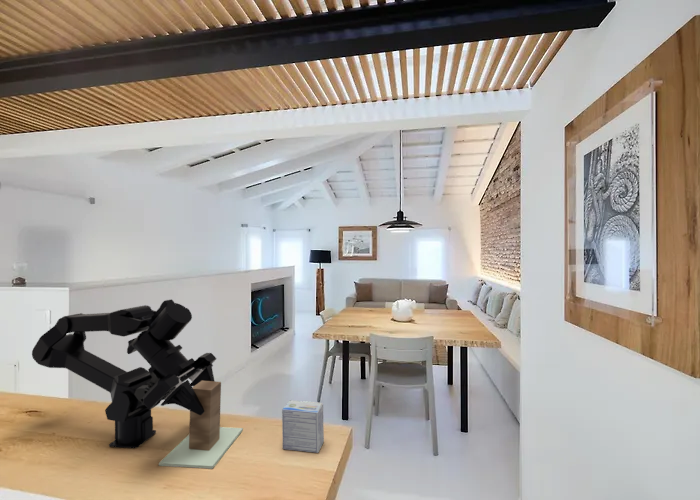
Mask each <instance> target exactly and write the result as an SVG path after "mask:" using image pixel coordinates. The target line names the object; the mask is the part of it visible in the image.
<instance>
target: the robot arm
mask: <svg viewBox="0 0 700 500" xmlns="http://www.w3.org/2000/svg"><path fill="white" fill-rule="evenodd" d="M192 319H193V315H192V313H191V311H190V309H189V308H188V307H186V306H184V305H182V304H181V303H177V302H175V301H174V300H173V299H166V300H163V301H162V302H161V304H160V306H159V307H158V309H157V310H153V309H152V307H151V306H149V305H146V304H145V305H138V306H134V307H128V308H124V309H118V310H115V311H112V312H102V313H101V312H99V313H82V312H81V313H76V314H71V315H69V314H68V315H63V316H62V317H60V318H59V319H58V320H57V322H55V325H54V326H52V327H51V328H50V329H49V330H47V331H45V333H44V334H42V335H41V336H40V337H39V339H37V340H38V341H37V342H36V343H35V345H34V347H33V348H32V351H31V355H32V359H33V361H35V362H36V363H37V364H38V365H40V366H41V367H42V366H43V367H45V368H49V369H67V370H68V371H70V372H72V373H73V374H75V375H77V376H79V377H81V378H83V379H84V380H86V381H89V382H90V383H92V384H94V385H95V386H97V387H99V388H101V389H103V390H105V391H106V392H109V394H110V399H111V402H110V403H109V405H107V407H106V409H105V410H104V412H105V416H106V419H107V420H108V421H113V422H114V440H113V441H112V442H111V443H109V444H108V447H109V448H120V449H121V448H124V449H137V448H139V447H140V446H142V445H143V444H144V443H146V441H148V440H149V439H150V438H152V437H153V436H155V434H156V433H157V430H154V418H153V416H152V409H154V408H155V407H156V406H158V405H159V404H160V403H161V402H162V403H161V404H160V406H162V407H163V406H166V405H177V406H180V407H183V408H184V409H186V410H188V411H189V412H190V411H192V412H194V413H196V414H198V415H202V414H203V413H204V409H203V406H202V404H201V402H200V401H199V399H198V397H197V395H196V393H195V392H194V390H193V388H192V387H194V386H195V385H196V384H198V383H199V382H201V381H215V376H214V372H213V366H214V365H213V363H214V362H215V361H216V360H217V357H216V356H215V355H214V354H213V353H212V352H205V353H204V354H202V355H200V356H199V357H197V359H193V357H192V358H189V359H188V358H186V356H185V355H184V354H183V353H182V352H181V350H182V349H183V346H181V344H177V345H176V346H175V345H174V343H173V342H172V341H173V340H175V339H176V338H177V337H178V335H180V333H181V332H182V331H183V330H184V329H185V328H186V326H187V325H188V324H189V323H190V322H191V321H192ZM86 332H87V333H89V332H109V333H110V335H112V336H113V335H114V336H118V337H127V336H130V335H135V334H138V335H137V336H136V337H134V338H132V339H130V340H128V342H127V343H128V345H127V349H126V353H127V354H128V355H130V354H133V353H134V352H138V353H139V355H140V356H141V357H142V358H143V360H145V361H146V362H147V363H148V364H149V366H150V367H149V368H148V369H146V368H145V367H142V366H140V367H136V368H135V369H131V370H129V371H126V370H124V369H123V368H120V367H118V366H116V365H115V364H113V363H111V362H109V361H107V360H105V359H103V358H101V357H99V356H97V355H96V354H93V353H91V352H90V351H88V350H85V343H84V342H85V341H86V340H87V335H86ZM189 380H190V381H191V382H190V381H189ZM215 382H216V381H215Z"/></svg>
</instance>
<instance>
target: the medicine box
mask: <svg viewBox="0 0 700 500" xmlns="http://www.w3.org/2000/svg"><path fill="white" fill-rule="evenodd" d="M281 415H282V416H281V422H282V423H281V425H282V426H281V431H282V449H283V450H286V451H287V450H289V451H297V452H298V451H299V452H307V453H317V454H318V453H319V452H320V450H321V449H322V446H323V444H324V441H325V437H324V436H325V431H324V429H325V428H324V427H325V426H324V402H317V401H306V400H305V401H303V400H302V401H301V400H292V399H291V400H289V401H288V402H287V403H285V405H284V406H283V408H282V409H281Z"/></svg>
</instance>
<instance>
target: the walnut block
mask: <svg viewBox="0 0 700 500" xmlns="http://www.w3.org/2000/svg"><path fill="white" fill-rule="evenodd" d="M192 388H193V390H194V392H195V393H196V395H197V397H198V399H199V401H200V402H201V404H202V406H203V409H204V413H203V414H202V415H198V414H196V413H194V412H192V411H190V410H189V432H188V433H189V434H188V435H189V449H196V450H207V451H209V450H210V449H211V448H212V447H213V446H214V445H215V444H216V442H217V441H218V440H219V438H220V427H221V401H222V400H221V396H222V382H221V381H201V382H199V383H198V384H196V385H195V386H192Z"/></svg>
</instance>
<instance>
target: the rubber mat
mask: <svg viewBox="0 0 700 500" xmlns="http://www.w3.org/2000/svg"><path fill="white" fill-rule="evenodd" d="M243 431H244V428H243V427H223V426H222V427H221V426H220V438H219V440H218V441H217V442H216V444H215V445H214V446H213V447H212V448H211V449H210V450H209V451H207V450H196V449H189V434H188V435H187V436H186V437H184V439H183V440H181V441H180V442H179V444H177V445H176V446H175V447H174V448H173V449H172V450H171V451H170V452H169V453H168V454H166V456H165V457H163V458H162V459H161V460H160V461H159V462H158V466H159V467H175V468H176V467H178V468H194V469H195V468H196V469H208V470H209V469H211V470H213V469H214V468H215V466H216V465H217V464H218V463H219V462H220V460H221V459H222V457H224V455H225V454H227V453H226V452H227V451H228V450H229V449H230V447H231V446H232V445H233V444H234V442H235V441H236V440H237V438H238V437H239V436H240V434H241V433H242V432H243Z"/></svg>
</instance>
